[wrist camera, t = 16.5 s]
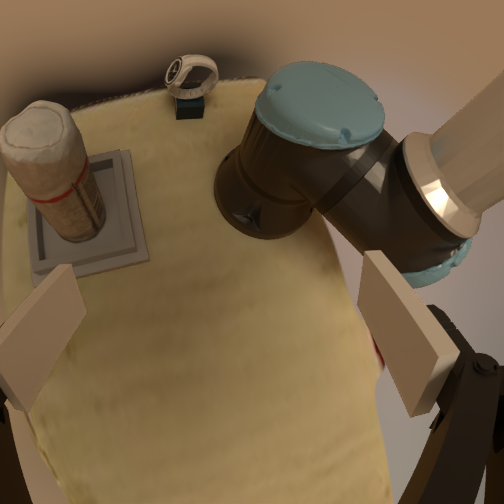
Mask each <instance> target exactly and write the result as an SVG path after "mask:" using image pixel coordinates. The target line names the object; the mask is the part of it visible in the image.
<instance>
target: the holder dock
mask: <svg viewBox="0 0 504 504" xmlns="http://www.w3.org/2000/svg"><path fill="white" fill-rule="evenodd" d="M88 159H89V163H90V166H91V169H92V172H93V175H94V177H95V180H96V183H97V185H98V189H99V191H100V194H101V196H102V199H103V203H104V206H105V211H106V220H105V223H104V225H103V227H102V228H101V230H100V231H99V233H98V234H97V235H96V236H95V237H93V238H91V239H89V240H86V241H82V242H77V243H73V242H69V241H67V240H64V239H62V238H61V237H60V236H59V234H58V233H57V231H56V230H55V229H54V228H53V227H52V226H51V225H50V224H49V223H48V221H47V220H46V219H45V218H44V216H43V215H42V213H40V211H39V210H38V209H37V208H36V207H35V205H34V204H33V203H32V201H31V200H30V199H29V198H28V197H27V224H28V241H29V253H30V264H31V272H32V280H33V287H34V288H36V287H37V286H38V285H39V284H40V283H41V282H42V281H43V280H44V279H45V278H46V277H47V276H48V275H49V274H50V273H51V272H52V271H53V270H54V269H55V268H56V267H57V266H58V265H59V264H72V268H73V271H74V274H75V278H76V279H77V278H82V277H86V276H90V275H94V274H98V273H102V272H106V271H110V270H114V269H119V268H123V267H127V266H131V265H135V264H140V263H144V262H148V261H149V256H148V252H147V247H146V242H145V238H144V233H143V228H142V222H141V217H140V212H139V206H138V201H137V195H136V189H135V183H134V177H133V170H132V164H131V157H130V150H125V151H120V149H119V150H115V151H110V152H106V153H102V154H97V155H93V156H89V157H88Z"/></svg>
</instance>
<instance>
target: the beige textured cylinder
mask: <svg viewBox="0 0 504 504" xmlns="http://www.w3.org/2000/svg"><path fill="white" fill-rule="evenodd" d="M0 151H1V154H2V158H3V160H4V163H5V165H6V167H7V169H8V171H9V172H10V174H11V175H12V177H13V178H14V179H15V181H16V182H17V184H18V185H19V186H20V188H21V189H22V190H23V192H24V193H25V195H26V196H27V197H28V198H29V199H30V200H31V201H32V203H33V204H34V205H35V207H36V208H37V209H38V210H39V211H40V213H42V215H43V216H44V218H45V219H46V220H47V221H48V223H49V224H50V225H51V226H52V227H53V228H54V229H55V230H56V231H57V233H58V234H59V236H60V237H61V238H62V239H64V240H67V241H69V242H73V243H77V242H82V241H86V240H89V239H91V238H93V237H95V236H96V235H97V234H98V233H99V231H100V230H101V228H102V227H103V225H104V223H105V220H106V211H105V206H104V203H103V199H102V196H101V194H100V191H99V189H98V185H97V183H96V180H95V177H94V175H93V172H92V169H91V166H90V163H89V159H88V156H87V154H86V151H85V147H84V143H83V139H82V136H81V133H80V131H79V129H78V128H77V126H76V124H75V122H74V120H73V118H72V117H71V115H70V112H69V111H68V109H66V108H65V107H63V106H62V105H60V104H57V103H52V102H48V101H43V100H42V101H37V102H34V103H32V104H31V105H29V106H28V107H27V108H26V109H24V110H23V112H21V113H20V114H19V115H17V116H15V117H13V118H11V119H10V120H9V121H8V122H7V123H6V124H5V125H3V126H2V128H1V130H0Z"/></svg>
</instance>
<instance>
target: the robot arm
mask: <svg viewBox="0 0 504 504" xmlns="http://www.w3.org/2000/svg"><path fill="white" fill-rule="evenodd" d="M377 100H378V97H377V95H376V94H375V92H374V91H373V90H372V89H371V88H370V87H369V86H368V85H367V84H366V83H365V82H363V81H362V80H361V79H359V78H358V77H357V76H355V75H353V74H352V73H350V72H348V71H346V70H344V69H341V68H339V67H337V66H334V65H330V64H327V63H317V62H313V61H301V62H295V63H291V64H288V65H285V66H283V67H282V68H280V69H278V70H277V71H276V72H274V73H273V74H272V76H271V77H270V78H269V80H268V82H267V84H266V85H265V87H264V89H263V91H262V92H261V93H260V95H259V96H258V97H257V100H256V102H255V108H254V111H253V114H252V116H251V119H250V121H249V124H248V127H247V129H246V132H245V134H244V137H243V140H242V142H241V144H240V145H238V146H237V147H236V148H235V149H233V150H232V151H231V152H230V153H229V154H228V155H227V156H226V157H225V158H224V159H223V161H222V162H221V164H220V166H219V168H218V171H217V175H216V178H215V183H214V194H215V199H216V202H217V205H218V207H219V209H220V211H221V213H222V214H223V216H224V217H225V218H226V220H227V221H228V222H229V223H230V224H231V225H232V226H234V227H235V228H236V229H238V230H239V231H241V232H242V233H244V234H246V235H249V236H252V237H255V238H259V239H279V238H283V237H286V236H288V235H290V234H292V233H293V232H295V231H296V230H298V229H299V228H300V227H301V226H302V225H303V224H304V223H305V222H306V221H307V220H308V218H309V217H310V215H311V214H312V212H313V209H314V207H315V208H316V209H317V210H318V211H319V212H320V213H321V214H322V215H323V216H324V217H325V218H326V219H327V220H328V221H329V222H330V223H331V224H332V225H333V226H334V227H336V229H337V230H338V231H339V232H340V233H341V234H342V235H343V236H344V237H345V238H346V239H347V240H348V241H349V242H350V243H351V244H352V245H353V246H354V247H355V248H356V249H357V250H358V251H359V252H360V253H361V254H362V255H363V256H364V258H363V267H362V274H361V282H360V289H359V296H358V302H357V305H358V308H359V310H360V312H361V314H362V316H363V318H364V320H365V322H366V324H367V326H368V328H369V330H370V332H371V334H372V336H373V338H374V340H375V342H376V344H377V346H378V348H379V350H380V352H381V354H382V356H383V359H384V361H385V363H386V365H387V367H388V369H389V371H390V374H391V376H392V378H393V380H394V382H395V384H396V387H397V389H398V391H399V393H400V395H401V398H402V400H403V402H404V404H405V407H406V409H407V412H408V414H409V416H410V418H411V417H414V416H418V415H422V414H426V413H429V412H430V410H431V409H432V407H433V405H434V404H435V402H437V404H438V406H439V408H440V411H439V413H438V414H437V416H436V418H435V419H434V421H433V422H432V424H431V426H430V427H429V428H430V429H432V430H431V432H430V435H429V438H428V440H427V443H426V445H425V447H424V450H423V452H422V455H421V457H420V459H419V461H418V464H417V466H416V468H415V470H414V473H413V474H412V477H411V479H410V481H409V483H408V485H407V487H406V489H405V491H404V493H403V495H402V496H401V499H400V500H399V502H398V504H474V503H475V499H476V497H477V494H478V490H479V487H480V484H481V481H482V477H483V473H484V470H485V466H486V483H485V498H484V504H504V366H499V364H498V362H497V361H496V360H495V359H493V358H492V357H491V356H489V355H487V354H483V353H475V351H474V350H473V349H472V347H471V346H470V345H469V343H468V342H467V341H466V339H465V338H464V337H463V335H462V334H461V333H460V331H459V330H458V329H456V327H455V325H454V324H453V322H451V320H450V319H449V317H448V316H447V315H446V314H445V312H444V311H442V310H441V309H439V308H438V307H436V306H435V305H425V304H424V302H423V301H422V300H421V299H420V298H419V296H418V295H417V294H416V292H415V291H414V290H413V289H414V288H421V287H425V286H428V285H431V284H433V283H435V282H437V281H439V280H441V279H442V278H444V277H445V276H447V275H448V274H449V273H450V269H451V268H452V267H456V266H458V265H459V264H460V263H461V262H462V260H463V259H464V258H465V257H466V255H467V253H468V251H469V249H470V247H471V243H472V238H473V236H475V235H476V234H477V232H478V230H479V227H480V223H481V217H482V213H483V212H484V211H485V210H487V209H489V208H490V207H492V206H493V205H495V204H496V203H498V202H500V201H501V200H503V199H504V70H503V71H502V72H501V73H500V74H499V75H498V76H497V77H496V78H495V79H494V80H493V81H492V82H491V83H489V84H488V85H487V86H486V87H485V88H484V89H483V90H482V91H481V92H480V93H479V94H477V95H476V96H475V97H474V98H473V99H472V100H471V101H470V102H469V103H468V104H466V105H465V106H464V107H463V108H462V109H461V110H460V111H459V112H458V113H456V114H455V115H454V116H453V117H452V118H451V119H450V120H449V121H447V122H446V123H445V124H444V125H443V126H442V127H441V128H440V129H438V130H437V131H436V132H435V133H434V134H433V135H430V134H424V133H418V132H413V133H411V134H409V135H407V136H406V137H405V138H404V139H403V140H402V141H401V142H400V143H398V142H397V141H396V140H395V139H394V138H393V137H392V136H391V135H390V134H389V133H388V132H387V131H385V130H384V129H383V124H384V120H385V113H384V109H383V106H382V104H381V103H380V102H378V101H377ZM86 314H87V311H86V308H85V305H84V302H83V299H82V296H81V293H80V290H79V287H78V284H77V281H76V278H75V274H74V271H73V268H72V264H59V265H58V266H57V267H56V268H55V269H54V270H53V271H52V272H51V273H50V274H49V275H48V276H47V277H46V278H45V279H44V280H43V281H42V282H41V283H40V284H39V285H38V286H37V287H36V288H35V289H34V290H33V292H32V293H31V294H30V295H29V296H28V297H27V298H26V299H25V300H24V301H23V302H22V303H21V305H20V306H19V307H18V308H17V309H16V310H15V311H14V312H13V314H12V315H11V316H10V317H9V318H8V319H7V321H5V322H4V323H3V324H2V325H1V326H0V504H33V503H32V501H31V497H30V494H29V492H28V489H27V485H26V483H25V479H24V476H23V473H22V469H21V466H20V462H19V458H18V454H17V451H16V446H15V442H14V438H13V433H12V428H11V423H10V418H9V412H8V409H7V407H6V406H5V404H4V403H5V401H6V399H8V400H9V401H10V403H11V404H12V406H13V407H14V408H15V409H17V410H20V411H24V412H27V413H28V412H29V411H30V409H31V407H32V405H33V403H34V401H35V399H36V397H37V396H38V394H39V392H40V390H41V388H42V386H43V385H44V383H45V381H46V379H47V378H48V376H49V374H50V372H51V371H52V369H53V367H54V365H55V364H56V362H57V360H58V359H59V357H60V355H61V354H62V352H63V350H64V349H65V347H66V345H67V344H68V342H69V341H70V339H71V337H72V336H73V334H74V333H75V331H76V329H77V328H78V326H79V325H80V323H81V322H82V320H83V318H84V317H85V315H86Z"/></svg>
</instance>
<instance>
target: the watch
mask: <svg viewBox="0 0 504 504" xmlns="http://www.w3.org/2000/svg"><path fill="white" fill-rule="evenodd" d="M192 66H204V67H208V68H210V69H212V70H213V73H211V75H210V76H209V77H208V79H207V80H205V81H204V82H203V83H182V82H183V81H184V79H185V77H186V76H187V73H188V72H189V71H190V70H191V69H192ZM217 83H218V71H217V66H216V64H215V62H214V61H213V60H211V59H210V58H209V57H206V56H203V55H186V56H183V57H177V58H176V59H174V60H173V62H172V63H171V64H170V66H169V68H168V70H167V72H166V75H165V84H166V86H167V87H168V92H169V93H170V94H171V95H172V96H174V97H175V109H176V120H180V119H199V118H203V113H204V107H205V105H204V98H203V95H204V96H205V95H206V94H208V93H209V92H210V91H211V90H212V89H213V88H214V87H215V86H216V84H217Z"/></svg>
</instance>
